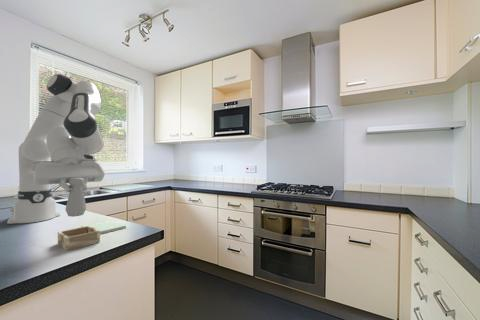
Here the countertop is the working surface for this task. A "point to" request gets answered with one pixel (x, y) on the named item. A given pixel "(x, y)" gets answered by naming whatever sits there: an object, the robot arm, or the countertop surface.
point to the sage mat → (107, 226)
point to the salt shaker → (76, 198)
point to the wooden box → (78, 237)
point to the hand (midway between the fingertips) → (76, 190)
